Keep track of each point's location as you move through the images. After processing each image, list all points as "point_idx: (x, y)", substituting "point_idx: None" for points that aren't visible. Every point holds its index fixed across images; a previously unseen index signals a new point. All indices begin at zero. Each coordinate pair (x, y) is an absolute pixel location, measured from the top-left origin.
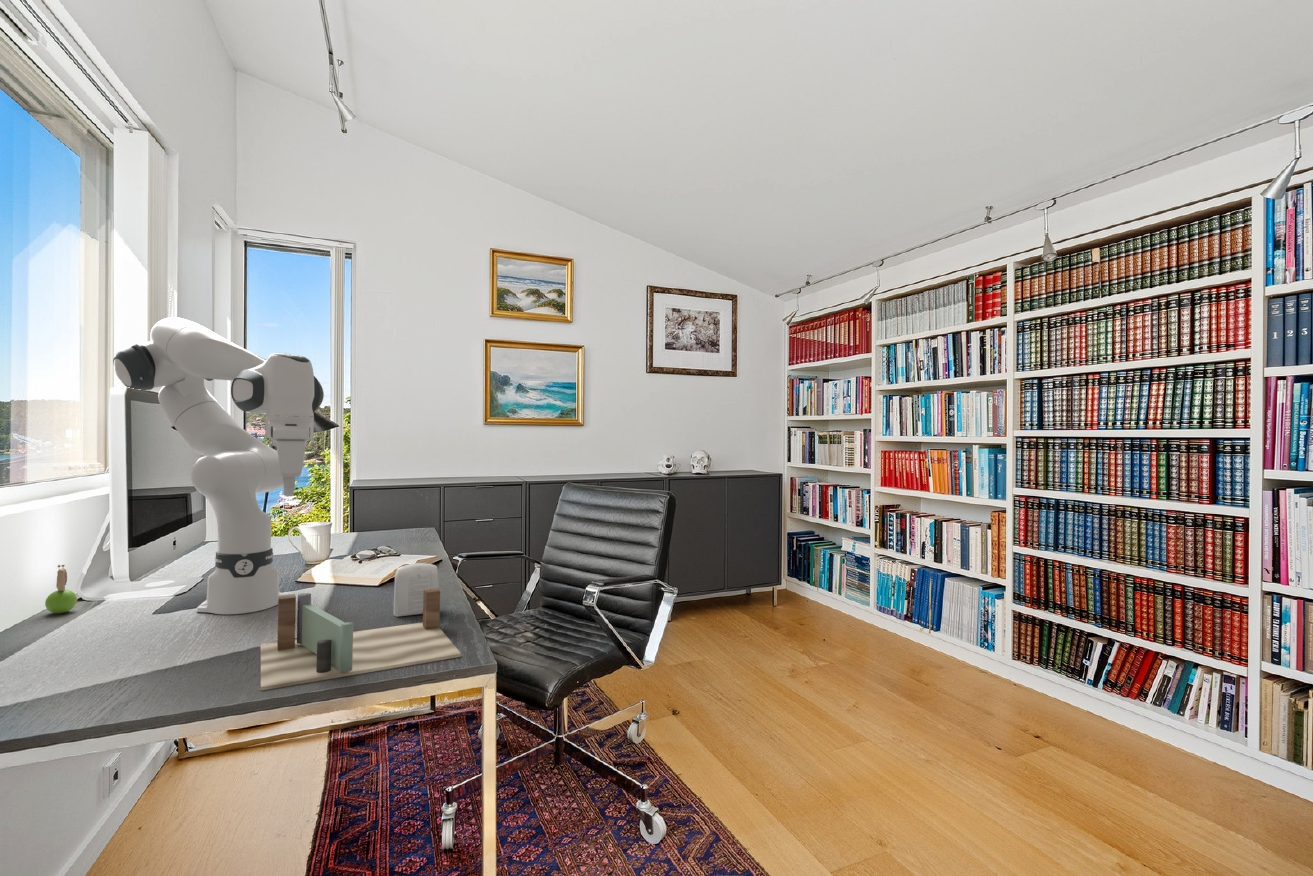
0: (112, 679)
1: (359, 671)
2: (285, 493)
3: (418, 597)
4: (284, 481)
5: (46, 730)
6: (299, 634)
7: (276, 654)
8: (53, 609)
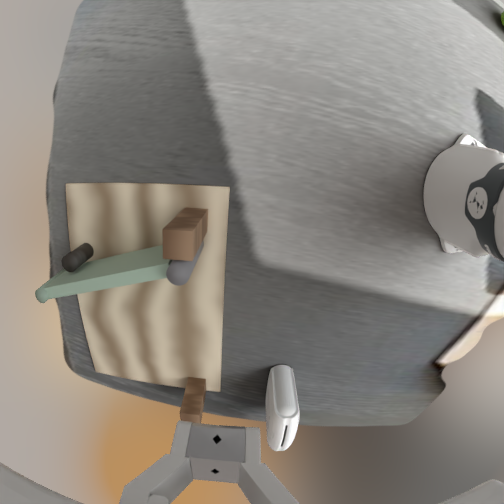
0: (194, 23)
1: None
2: (177, 430)
3: (267, 403)
4: (135, 482)
5: (79, 15)
6: None
7: (167, 204)
8: (501, 14)
